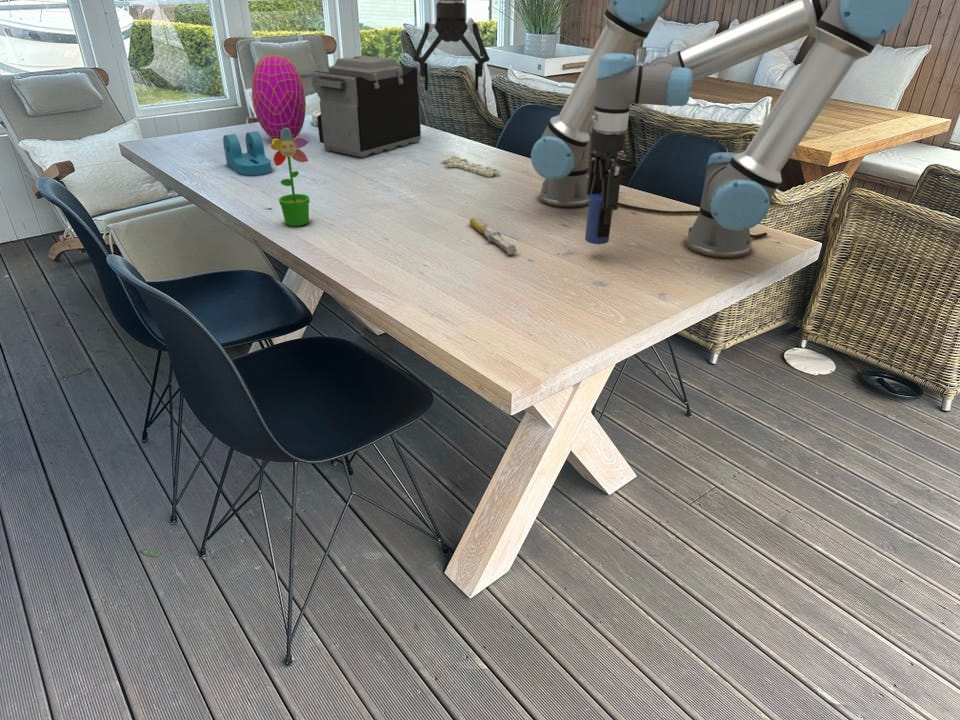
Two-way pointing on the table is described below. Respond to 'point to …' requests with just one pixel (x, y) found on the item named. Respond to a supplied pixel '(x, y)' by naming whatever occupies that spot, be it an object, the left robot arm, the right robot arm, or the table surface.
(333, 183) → the table surface
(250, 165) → the camera mount
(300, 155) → the potted flower
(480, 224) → the syringe
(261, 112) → the decorative egg
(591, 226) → the can
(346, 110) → the cooler box
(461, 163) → the decorative sign
